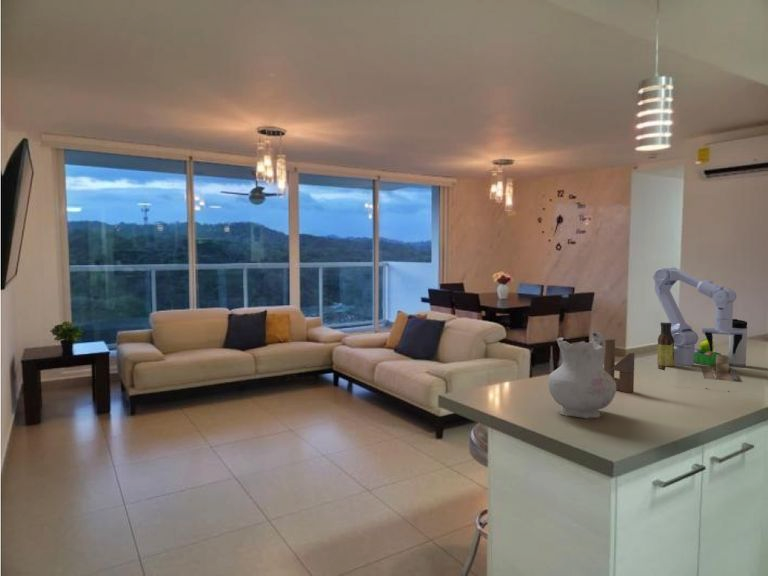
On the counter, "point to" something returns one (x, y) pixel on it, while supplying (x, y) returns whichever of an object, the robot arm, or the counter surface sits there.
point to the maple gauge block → (722, 363)
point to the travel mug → (740, 354)
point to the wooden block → (619, 367)
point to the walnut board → (721, 374)
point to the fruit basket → (705, 354)
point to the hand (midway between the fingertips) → (722, 352)
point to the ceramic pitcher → (582, 379)
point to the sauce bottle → (665, 347)
